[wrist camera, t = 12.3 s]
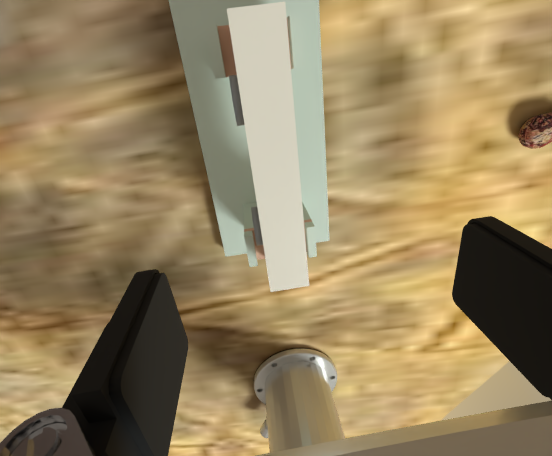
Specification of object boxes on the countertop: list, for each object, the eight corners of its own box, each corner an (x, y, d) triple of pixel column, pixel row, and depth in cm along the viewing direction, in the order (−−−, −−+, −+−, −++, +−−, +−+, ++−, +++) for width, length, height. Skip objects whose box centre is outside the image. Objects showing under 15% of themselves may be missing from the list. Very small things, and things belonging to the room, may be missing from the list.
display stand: (326, 234, 37) (350, 278, 29) (226, 250, 37) (222, 299, 28) (313, -15, 26) (346, -54, 18) (171, 2, 26) (141, -31, 18)
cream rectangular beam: (298, 252, 28) (309, 285, 24) (260, 258, 28) (264, 292, 24) (275, 17, 20) (285, 1, 16) (221, 24, 20) (216, 9, 16)
